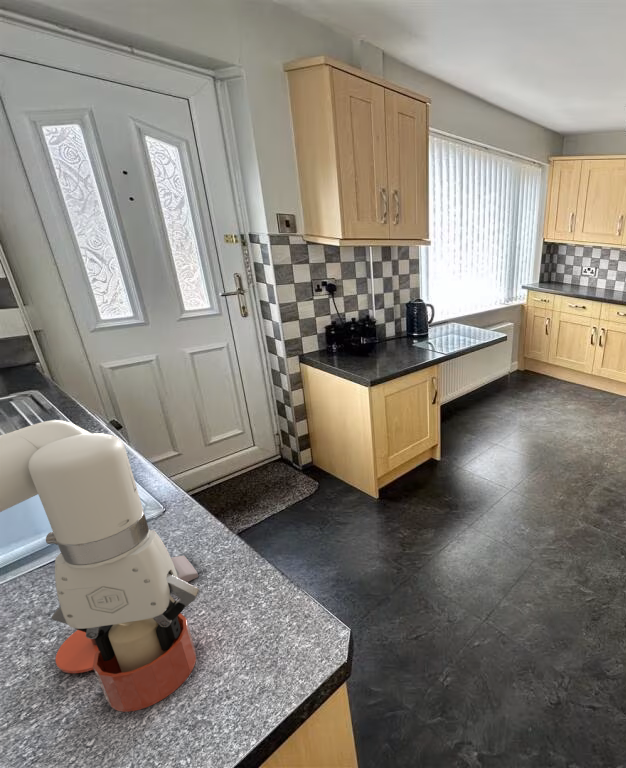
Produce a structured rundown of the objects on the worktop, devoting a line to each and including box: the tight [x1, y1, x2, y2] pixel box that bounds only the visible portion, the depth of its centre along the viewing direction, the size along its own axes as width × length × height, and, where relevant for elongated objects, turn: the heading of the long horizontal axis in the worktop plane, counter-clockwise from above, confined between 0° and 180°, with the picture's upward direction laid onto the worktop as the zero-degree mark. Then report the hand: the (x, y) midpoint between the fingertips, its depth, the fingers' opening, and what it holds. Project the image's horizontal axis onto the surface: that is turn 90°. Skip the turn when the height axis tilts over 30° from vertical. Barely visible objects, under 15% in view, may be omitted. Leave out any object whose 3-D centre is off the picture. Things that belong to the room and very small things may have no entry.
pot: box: [93, 612, 197, 713], centre depth 57 cm, size 9×9×6 cm
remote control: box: [171, 555, 199, 583], centre depth 71 cm, size 7×16×3 cm, turn 143°
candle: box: [108, 618, 174, 673], centre depth 56 cm, size 6×6×10 cm
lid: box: [54, 629, 99, 674], centre depth 61 cm, size 10×10×6 cm
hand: (143, 644), depth 56 cm, fingers closed on candle, 5 cm apart
